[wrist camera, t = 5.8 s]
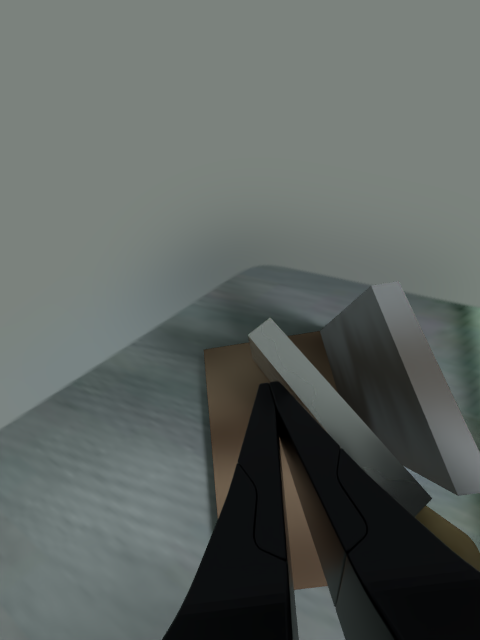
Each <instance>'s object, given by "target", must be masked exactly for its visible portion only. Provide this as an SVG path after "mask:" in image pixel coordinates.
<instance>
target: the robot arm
mask: <svg viewBox="0 0 480 640" xmlns="http://www.w3.org/2000/svg"><path fill="white" fill-rule="evenodd" d="M279 438H280V440H279ZM280 441H281V445H282V448H283V451H284V454H285V457H286V460H287V463H288V466H289V469H290V472H291V475H292V478H293V481H294V484H295V487H296V490H297V493H298V496H299V499H300V502H301V505H302V508H303V512H304V515H305V518H306V521H307V524H308V527H309V530H310V533H311V536H312V539H313V542H314V545H315V548H316V551H317V554H318V557H319V560H320V563H321V566H322V569H323V572H324V575H325V578H326V581H327V585H328V588H329V591H330V594H331V597H332V600H333V603H334V606H335V607H336V612H337V615H338V618H339V621H340V624H341V627H342V630H343V633H344V636H345V639H346V640H480V571H478V570H477V569H476V568H474V567H473V566H472V565H470V564H469V563H468V562H466V561H465V560H464V559H462V558H461V557H460V556H459V555H457V554H456V553H455V552H454V551H452V550H451V549H450V548H449V547H448V546H447V545H446V544H444V543H443V542H442V541H441V540H440V539H439V538H438V537H436V536H435V535H434V534H433V533H432V532H431V531H430V530H429V529H428V528H426V527H425V526H424V525H423V524H422V523H421V522H420V521H419V520H417V519H416V518H415V517H414V516H413V515H412V514H411V513H410V512H409V511H407V510H406V509H405V508H404V507H403V506H402V505H401V504H400V503H398V502H397V501H396V500H395V499H394V498H393V497H392V496H391V495H390V494H388V493H387V492H386V491H385V490H384V489H383V488H382V487H381V486H380V485H379V484H378V483H376V482H375V481H374V480H373V479H372V478H371V477H370V476H369V475H368V474H367V473H366V472H365V471H364V470H363V469H362V468H361V467H360V466H359V465H358V464H357V463H356V462H355V461H354V460H353V459H352V458H351V457H350V456H349V455H348V454H347V453H346V452H345V451H344V449H342V448H341V449H340V445H339V444H338V443H337V442H336V441H335V440H334V439H333V438H332V437H331V436H330V435H329V434H328V433H327V432H326V431H325V430H324V428H323V427H322V426H321V425H320V424H319V423H318V422H317V421H316V420H315V419H314V418H313V417H312V416H311V415H310V414H309V413H308V412H307V410H306V409H305V408H304V407H303V406H302V405H301V404H300V403H299V402H298V401H297V400H296V399H295V398H294V397H293V396H292V395H291V394H290V392H289V391H288V390H287V389H286V388H285V387H284V386H283V385H282V384H281V383H280V382H279V381H274V382H270V383H261V384H259V387H258V390H257V394H256V397H255V401H254V405H253V408H252V412H251V415H250V419H249V422H248V426H247V429H246V433H245V436H244V440H243V443H242V447H241V451H240V454H239V458H238V463H237V464H236V468H235V471H234V475H233V478H232V481H231V484H230V488H229V491H228V494H227V497H226V499H225V502H224V505H223V507H222V510H221V513H220V516H219V518H218V521H217V523H216V526H215V528H214V531H213V533H212V536H211V538H210V541H209V543H208V546H207V548H206V551H205V553H204V556H203V558H202V561H201V563H200V566H199V568H198V571H197V573H196V575H195V578H194V580H193V582H192V585H191V587H190V589H189V591H188V594H187V596H186V598H185V600H184V602H183V604H182V606H181V608H180V610H179V612H178V613H177V615H176V617H175V619H174V621H173V622H172V624H171V626H170V627H169V629H168V631H167V632H166V634H165V636H164V637H163V639H162V640H299V637H298V627H297V616H296V606H295V595H294V585H293V575H292V564H291V554H290V543H289V533H288V523H287V512H286V502H285V491H284V481H283V471H282V460H281V450H280Z"/></svg>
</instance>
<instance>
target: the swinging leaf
mask: <svg viewBox="0 0 480 640" xmlns="http://www.w3.org/2000/svg"><path fill="white" fill-rule="evenodd" d="M248 338H249V343H250V348H251V354H252V359H253V360H254V361H255V363H256V364H257V365H258V366H259V368H260V369H261V370H262V371H263V373H264V374H265V375H266V377H267V378H268V379H269V380H270V382H274V381H279V382H280V383H281V384H282V385H283V386H284V387H285V388H286V389H287V390H288V391H289V392H290V394H291V395H292V396H293V397H294V398H295V399H296V400H297V401H298V402H299V403H300V404H301V405H302V406H303V407H304V408H305V409H306V410H307V412H308V413H309V414H310V415H311V416H312V417H313V418H314V419H315V420H316V421H317V422H318V423H319V424H320V425H321V426H322V427H323V428H324V430H325V431H326V432H327V433H328V434H329V435H330V436H331V437H332V438H333V439H334V440H335V441H336V442H337V443H338V444H339V445H340V449H341V448H342V449H344V451H345V452H346V453H347V454H348V455H349V456H350V457H351V458H352V459H353V460H354V461H355V462H356V463H357V464H358V465H359V466H360V467H361V468H362V469H363V470H364V471H365V472H366V473H367V474H368V475H369V476H370V477H371V478H372V479H373V480H374V481H375V482H376V483H378V484H379V485H380V486H381V487H382V488H383V489H384V490H385V491H386V492H387V493H388V494H390V495H391V496H392V497H393V498H394V499H395V500H396V501H397V502H398V503H400V504H401V505H402V506H403V507H404V508H405V509H406V510H407V511H409V512H410V513H411V514H412V515H413V516H414V517H415V516H416V515H417V514H418V513H419V512H420V511H421V510H422V509H423V508H424V507H425V506H426V504H427V503H428V502H429V501H430V500H431V499H432V498H431V497H430V495H429V494H428V493H427V492H426V491H425V490H424V489H423V488H422V486H421V485H420V484H419V483H418V482H417V481H416V480H415V479H414V478H413V476H412V475H411V474H410V473H409V472H408V471H407V470H406V469H405V468H404V466H403V465H402V464H401V463H400V462H399V461H398V460H397V459H396V457H395V456H394V455H393V454H392V453H391V452H390V451H389V450H388V449H387V447H386V446H385V445H384V444H383V443H382V442H381V441H380V440H379V438H378V437H377V436H376V435H375V434H374V433H373V432H372V431H371V430H370V428H369V427H368V426H367V425H366V424H365V423H364V422H363V421H362V419H361V418H360V417H359V416H358V415H357V414H356V413H355V412H354V411H353V409H352V408H351V407H350V406H349V405H348V404H347V403H346V402H345V400H344V399H343V398H342V397H341V396H340V395H339V394H338V393H337V392H336V390H335V389H334V388H333V387H332V386H331V385H330V384H329V383H328V381H327V380H326V379H325V378H324V377H323V376H322V375H321V374H320V373H319V371H318V370H317V369H316V368H315V367H314V366H313V365H312V364H311V362H310V361H309V360H308V359H307V358H306V357H305V356H304V355H303V354H302V352H301V351H300V350H299V349H298V348H297V347H296V346H295V345H294V343H293V342H292V341H291V340H290V339H289V338H288V337H287V336H286V335H285V333H284V332H283V331H282V330H281V329H280V328H279V327H278V326H277V324H276V323H275V322H274V321H273V320H272V319H271V318H269V319H268V320H267V321H265V322H264V323H263V324H261V325H260V326H259V327H258V328H256V329H255V330H254V331H252V332H251V333H250V334H248Z"/></svg>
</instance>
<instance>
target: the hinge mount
mask: <svg viewBox="0 0 480 640" xmlns="http://www.w3.org/2000/svg"><path fill="white" fill-rule="evenodd" d="M287 337H288V338H289V339H290V340H291V341H292V342H293V343H294V345H295V346H296V347H297V348H298V349H299V350H300V351H301V352H302V354H303V355H304V356H305V357H306V358H307V359H308V360H309V361H310V362H311V364H312V365H313V366H314V367H315V368H316V369H317V370H318V371H319V373H320V374H321V375H322V376H323V377H324V378H325V379H326V380H327V381H328V383H329V384H330V385H331V386H332V387H333V388H334V389H335V390H336V392H337V393H338V394H339V395H340V396H341V397H342V398H343V399H344V400H345V402H346V403H347V404H348V405H349V406H350V407H351V408H352V409H353V411H354V412H355V413H356V414H357V415H358V416H359V417H360V418H361V419H362V421H363V422H364V423H365V424H366V425H367V426H368V427H369V428H370V430H371V431H372V432H373V433H374V434H375V435H376V436H377V437H378V438H379V440H380V441H381V442H382V443H383V444H384V445H385V446H386V447H387V449H388V450H389V451H390V452H391V453H392V454H393V455H394V456H395V457H396V459H397V460H398V461H399V462H400V463H401V464H402V465H403V466H405V467H407V468H409V469H410V470H412V471H414V472H416V473H418V474H419V475H421V476H423V477H425V478H427V479H429V480H430V481H432V482H434V483H436V484H438V485H440V486H441V487H443V488H445V489H447V490H449V491H450V492H452V493H454V494H456V495H458V496H459V495H467V494H475V493H480V452H479V450H478V448H477V446H476V444H475V442H474V439H473V437H472V435H471V433H470V431H469V429H468V427H467V425H466V422H465V420H464V418H463V416H462V414H461V412H460V410H459V408H458V405H457V403H456V401H455V399H454V397H453V395H452V393H451V391H450V388H449V386H448V384H447V382H446V380H445V378H444V376H443V374H442V371H441V369H440V367H439V365H438V363H437V361H436V359H435V357H434V354H433V352H432V350H431V348H430V346H429V344H428V342H427V340H426V337H425V335H424V333H423V331H422V329H421V327H420V325H419V323H418V320H417V318H416V316H415V314H414V312H413V310H412V308H411V306H410V303H409V301H408V299H407V297H406V295H405V293H404V291H403V289H402V286H401V284H400V283H399V281H396V282H391V283H384V284H378V285H372V286H370V287H369V288H368V289H367V290H366V291H365V292H363V293H362V294H361V295H360V296H359V297H358V298H357V299H356V300H354V301H353V302H352V303H351V304H350V305H349V306H348V307H347V308H345V309H344V310H343V311H342V312H341V313H340V314H339V315H337V316H336V317H335V318H334V319H333V320H332V321H331V322H330V323H328V324H327V325H326V326H325V327H324V328H323V329H322V330H320V331H317V332H310V333H304V334H298V335H292V336H287ZM204 359H205V371H206V383H207V395H208V407H209V419H210V431H211V443H212V455H213V467H214V479H215V491H216V503H217V515H218V518H219V516H220V513H221V510H222V507H223V505H224V502H225V499H226V497H227V494H228V491H229V488H230V484H231V481H232V478H233V475H234V471H235V468H236V464H237V463H238V458H239V454H240V451H241V447H242V443H243V440H244V436H245V433H246V429H247V426H248V422H249V419H250V415H251V412H252V408H253V405H254V401H255V397H256V394H257V390H258V387H259V384H261V383H270V380H269V379H268V378H267V377H266V375H265V374H264V373H263V371H262V370H261V369H260V368H259V366H258V365H257V364H256V363H255V361H254V360H253V359H252V354H251V348H250V343H249V342H248V343H242V344H236V345H230V346H224V347H217V348H211V349H205V350H204ZM279 440H280V438H279ZM280 450H281V460H282V471H283V481H284V491H285V502H286V512H287V523H288V533H289V543H290V554H291V564H292V575H293V585H294V590H296V589H305V588H313V587H322V586H328V585H327V581H326V578H325V575H324V572H323V569H322V566H321V563H320V560H319V557H318V554H317V551H316V548H315V545H314V542H313V539H312V536H311V533H310V530H309V527H308V524H307V521H306V518H305V515H304V512H303V508H302V505H301V502H300V499H299V496H298V493H297V490H296V487H295V484H294V481H293V478H292V475H291V472H290V469H289V466H288V463H287V460H286V457H285V454H284V451H283V448H282V445H281V441H280ZM415 518H416V519H417V520H419V521H420V522H421V523H422V524H423V525H424V526H425V527H426V528H428V529H429V530H430V531H431V532H432V533H433V534H434V535H435V536H436V537H438V538H439V539H440V540H441V541H442V542H443V543H444V544H446V545H447V546H448V547H449V548H450V549H451V550H452V551H454V552H455V553H456V554H457V555H459V556H460V557H461V558H462V559H464V560H465V561H466V562H468V563H469V564H470V565H472V566H473V567H474V568H476V569H477V570H478V571H480V553H479V551H478V548H477V547H476V545H475V544H474V542H473V541H472V540H471V538H470V537H469V536H468V535H466V534H465V533H464V532H462V531H461V530H460V529H458V528H457V527H455V526H454V525H453V524H451V523H450V522H448V521H447V520H446V519H444V518H443V517H441V516H440V515H439V514H437V513H436V512H434V511H433V510H432V509H430V508H429V507H427V506H425V507H424V508H423V509H422V510H421V511H420V512H419V513H418V514H417V515H416V516H415Z"/></svg>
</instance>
